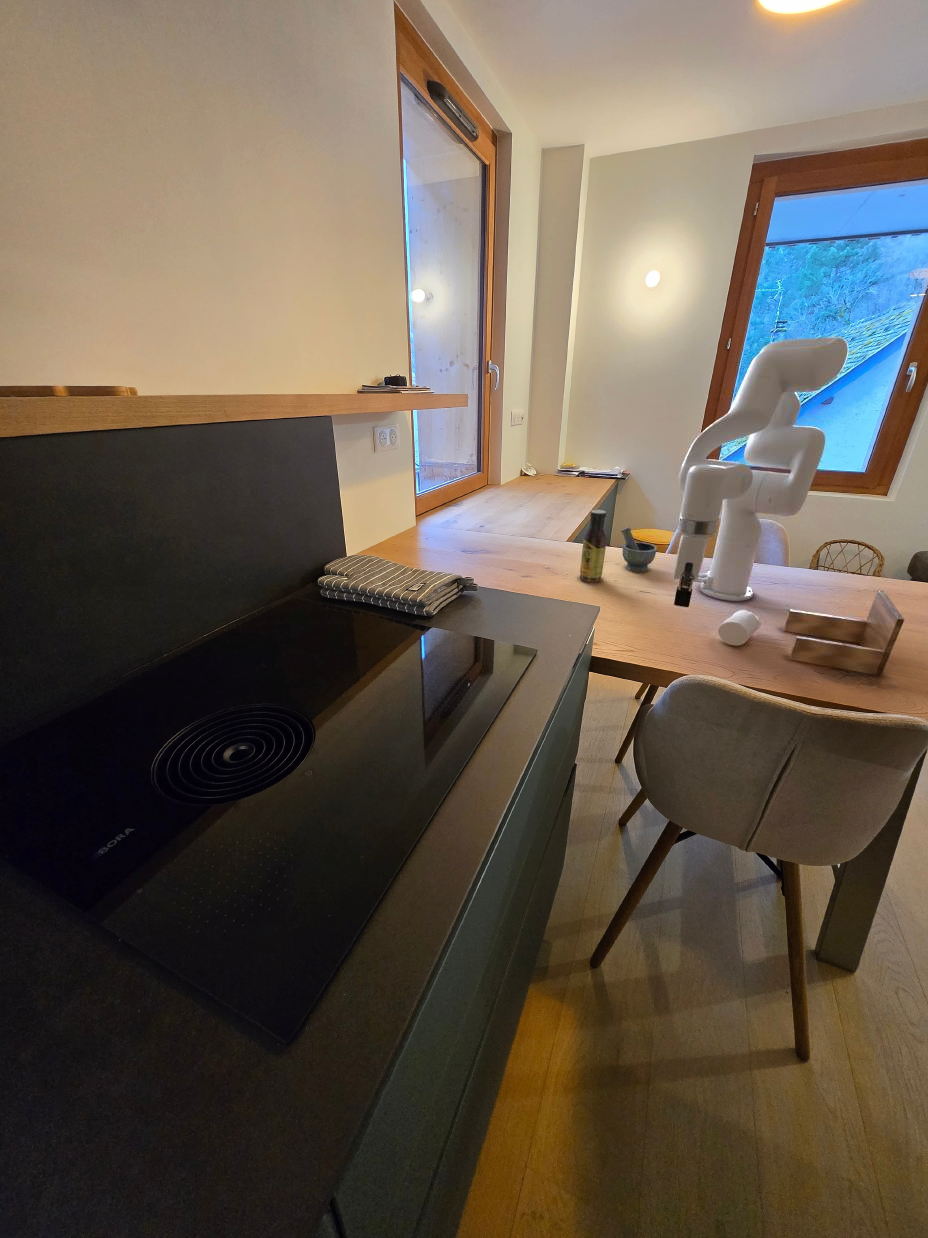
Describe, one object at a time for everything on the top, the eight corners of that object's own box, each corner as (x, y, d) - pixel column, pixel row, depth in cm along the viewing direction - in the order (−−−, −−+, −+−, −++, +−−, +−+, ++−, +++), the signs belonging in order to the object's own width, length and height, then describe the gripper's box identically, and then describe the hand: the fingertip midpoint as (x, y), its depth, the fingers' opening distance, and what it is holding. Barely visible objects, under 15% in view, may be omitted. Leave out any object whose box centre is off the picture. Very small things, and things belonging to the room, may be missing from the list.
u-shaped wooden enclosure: (789, 659, 100) (806, 605, 95) (783, 629, 112) (798, 579, 107) (881, 676, 94) (904, 619, 89) (863, 642, 106) (883, 590, 101)
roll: (763, 630, 111) (769, 608, 109) (744, 649, 104) (751, 625, 101) (735, 622, 115) (740, 600, 113) (715, 640, 108) (720, 617, 105)
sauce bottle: (576, 575, 144) (582, 508, 136) (597, 575, 145) (604, 507, 136) (583, 584, 139) (590, 514, 130) (605, 583, 139) (613, 513, 130)
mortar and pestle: (658, 567, 150) (665, 529, 144) (646, 576, 143) (652, 536, 138) (624, 560, 156) (628, 523, 151) (610, 568, 150) (615, 529, 145)
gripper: (681, 516, 112) (667, 591, 120) (675, 532, 100) (660, 614, 108) (717, 520, 109) (700, 596, 117) (715, 536, 97) (697, 620, 105)
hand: (681, 605), depth 112 cm, fingers closed
